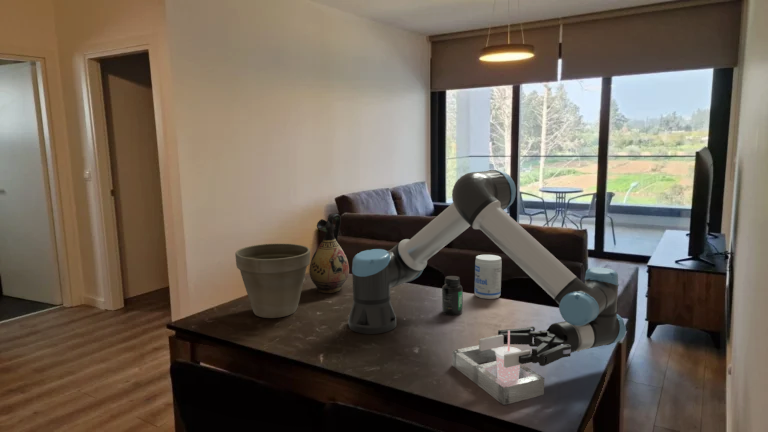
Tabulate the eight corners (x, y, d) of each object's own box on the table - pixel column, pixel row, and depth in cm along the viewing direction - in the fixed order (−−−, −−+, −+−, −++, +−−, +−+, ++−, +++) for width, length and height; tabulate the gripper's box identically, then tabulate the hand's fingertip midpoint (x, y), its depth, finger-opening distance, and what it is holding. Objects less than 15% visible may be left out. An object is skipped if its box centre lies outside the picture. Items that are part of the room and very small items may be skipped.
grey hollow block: (452, 365, 131) (452, 350, 130) (488, 357, 135) (488, 343, 135) (503, 405, 111) (503, 387, 110) (543, 394, 115) (544, 378, 115)
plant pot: (327, 309, 177) (325, 248, 174) (269, 330, 158) (266, 262, 155) (281, 296, 193) (279, 240, 190) (224, 313, 174) (220, 251, 171)
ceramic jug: (333, 298, 189) (330, 218, 185) (302, 291, 198) (298, 215, 193) (359, 286, 203) (357, 212, 199) (329, 281, 212) (327, 210, 207)
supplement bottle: (465, 314, 169) (465, 279, 167) (446, 316, 167) (446, 281, 166) (457, 308, 176) (458, 274, 174) (439, 309, 174) (439, 275, 172)
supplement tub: (469, 296, 188) (470, 257, 186) (482, 290, 195) (482, 253, 193) (493, 301, 182) (493, 261, 180) (505, 295, 189) (506, 256, 187)
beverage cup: (493, 381, 122) (493, 325, 120) (519, 382, 121) (520, 326, 119) (496, 394, 116) (496, 335, 114) (523, 395, 115) (524, 336, 113)
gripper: (603, 369, 115) (522, 389, 106) (538, 335, 135) (466, 350, 126) (605, 337, 114) (523, 355, 105) (539, 308, 133) (466, 321, 125)
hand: (491, 352), depth 115 cm, fingers open, 9 cm apart
